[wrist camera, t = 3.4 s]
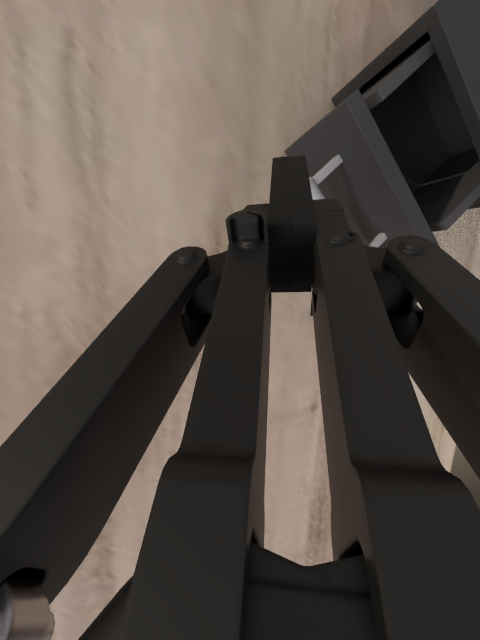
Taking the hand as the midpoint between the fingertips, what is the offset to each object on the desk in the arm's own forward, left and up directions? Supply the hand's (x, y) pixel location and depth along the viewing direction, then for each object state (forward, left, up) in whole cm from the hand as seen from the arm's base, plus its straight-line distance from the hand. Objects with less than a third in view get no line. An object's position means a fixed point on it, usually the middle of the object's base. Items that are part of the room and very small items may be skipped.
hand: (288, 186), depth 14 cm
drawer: (+7, +12, -11) cm, 18 cm away
